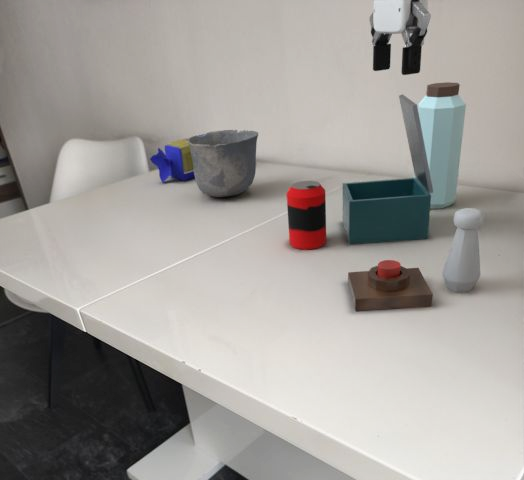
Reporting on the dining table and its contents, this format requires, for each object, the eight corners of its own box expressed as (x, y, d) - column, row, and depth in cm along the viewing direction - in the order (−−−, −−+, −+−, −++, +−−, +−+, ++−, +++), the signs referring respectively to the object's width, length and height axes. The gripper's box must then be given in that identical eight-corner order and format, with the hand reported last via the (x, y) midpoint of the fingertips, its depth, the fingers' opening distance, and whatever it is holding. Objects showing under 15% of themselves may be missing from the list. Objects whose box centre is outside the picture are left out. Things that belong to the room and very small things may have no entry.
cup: (253, 181, 153) (248, 125, 145) (270, 198, 139) (266, 137, 130) (192, 191, 150) (183, 134, 142) (202, 209, 135) (193, 147, 127)
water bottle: (448, 212, 119) (461, 88, 106) (404, 207, 124) (411, 88, 111) (460, 198, 126) (474, 80, 113) (418, 195, 131) (426, 81, 118)
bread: (238, 166, 169) (234, 132, 163) (171, 186, 156) (165, 149, 151) (219, 162, 176) (215, 129, 170) (153, 181, 163) (147, 145, 157)
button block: (417, 279, 93) (419, 257, 91) (431, 306, 85) (434, 283, 83) (348, 283, 94) (348, 262, 92) (355, 311, 86) (355, 288, 83)
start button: (397, 269, 89) (398, 259, 88) (402, 278, 86) (402, 268, 85) (375, 270, 89) (376, 260, 88) (379, 279, 86) (379, 269, 85)
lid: (412, 106, 95) (416, 104, 94) (398, 95, 105) (402, 94, 105) (429, 193, 103) (433, 192, 103) (415, 175, 113) (418, 174, 113)
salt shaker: (461, 298, 86) (472, 219, 79) (433, 286, 90) (441, 211, 83) (485, 287, 89) (497, 210, 82) (457, 276, 93) (466, 202, 86)
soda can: (303, 253, 107) (301, 193, 100) (282, 242, 112) (278, 185, 106) (333, 243, 110) (333, 184, 103) (311, 233, 116) (309, 177, 109)
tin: (349, 244, 109) (349, 201, 104) (342, 223, 119) (342, 183, 115) (427, 239, 108) (431, 195, 103) (413, 217, 118) (416, 177, 114)
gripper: (454, -60, 78) (443, 72, 87) (393, -47, 92) (389, 66, 101) (409, -56, 76) (402, 78, 85) (353, -43, 90) (353, 71, 99)
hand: (395, 71), depth 93 cm, fingers open, 9 cm apart
